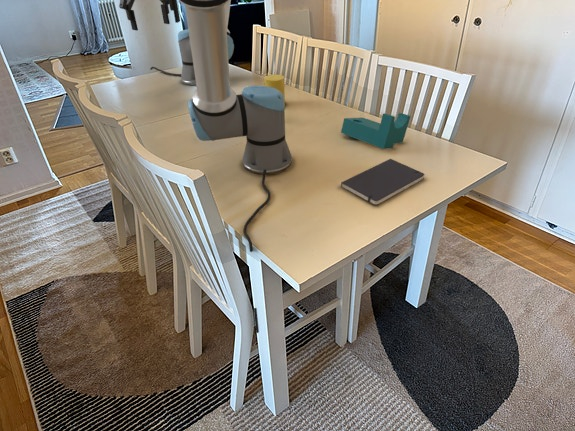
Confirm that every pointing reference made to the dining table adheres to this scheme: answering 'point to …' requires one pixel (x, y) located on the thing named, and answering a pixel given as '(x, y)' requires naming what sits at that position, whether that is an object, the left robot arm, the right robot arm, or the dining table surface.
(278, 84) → the can
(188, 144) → the dining table surface
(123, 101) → the dining table surface
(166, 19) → the left robot arm
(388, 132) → the teal l-shaped bracket
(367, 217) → the dining table surface
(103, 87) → the dining table surface
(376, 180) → the notebook
